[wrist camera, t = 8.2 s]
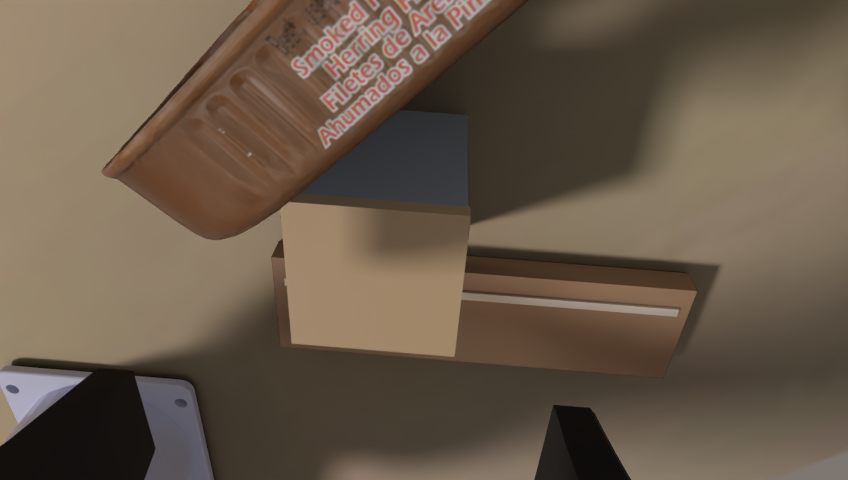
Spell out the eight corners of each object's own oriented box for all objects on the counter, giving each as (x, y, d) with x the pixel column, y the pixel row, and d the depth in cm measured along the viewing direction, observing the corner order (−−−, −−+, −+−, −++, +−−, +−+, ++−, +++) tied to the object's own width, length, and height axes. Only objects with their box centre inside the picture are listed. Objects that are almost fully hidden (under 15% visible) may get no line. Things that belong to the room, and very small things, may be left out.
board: (656, 358, 22) (664, 380, 22) (287, 328, 23) (279, 348, 22) (687, 273, 20) (698, 293, 19) (279, 240, 20) (270, 258, 20)
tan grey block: (456, 230, 20) (454, 356, 15) (334, 220, 20) (291, 343, 15) (469, 113, 18) (471, 216, 13) (331, 103, 18) (279, 201, 13)
